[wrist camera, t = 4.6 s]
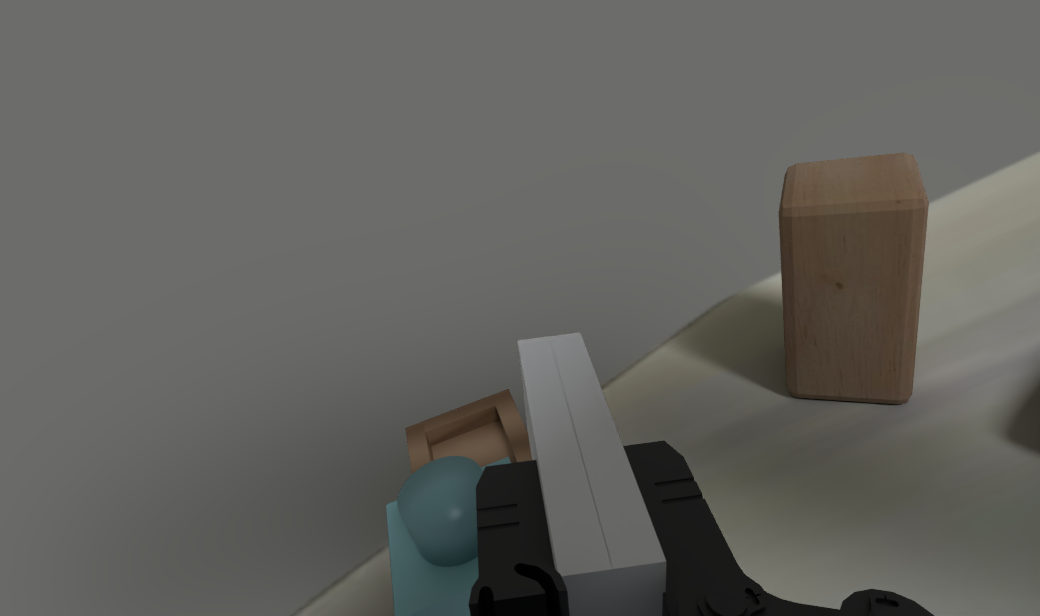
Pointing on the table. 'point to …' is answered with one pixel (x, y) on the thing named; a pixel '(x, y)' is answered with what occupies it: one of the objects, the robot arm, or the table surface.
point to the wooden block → (852, 276)
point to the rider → (435, 538)
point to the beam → (472, 434)
